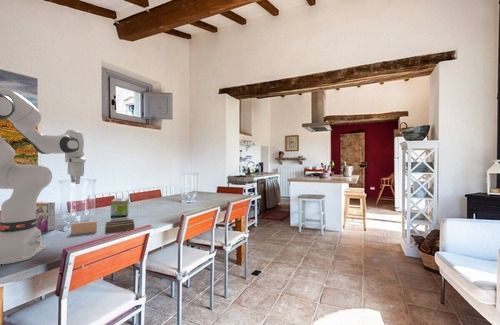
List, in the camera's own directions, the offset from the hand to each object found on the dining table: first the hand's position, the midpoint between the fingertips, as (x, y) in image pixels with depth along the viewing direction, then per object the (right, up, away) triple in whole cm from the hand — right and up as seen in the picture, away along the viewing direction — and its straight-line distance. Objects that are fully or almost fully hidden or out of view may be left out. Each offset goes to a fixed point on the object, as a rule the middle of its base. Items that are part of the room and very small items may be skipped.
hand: (75, 183), depth 137 cm
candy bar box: (-22, -28, +4) cm, 36 cm away
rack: (+21, -28, +8) cm, 36 cm away
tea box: (+10, -29, +28) cm, 41 cm away
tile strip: (+6, -28, -1) cm, 29 cm away
